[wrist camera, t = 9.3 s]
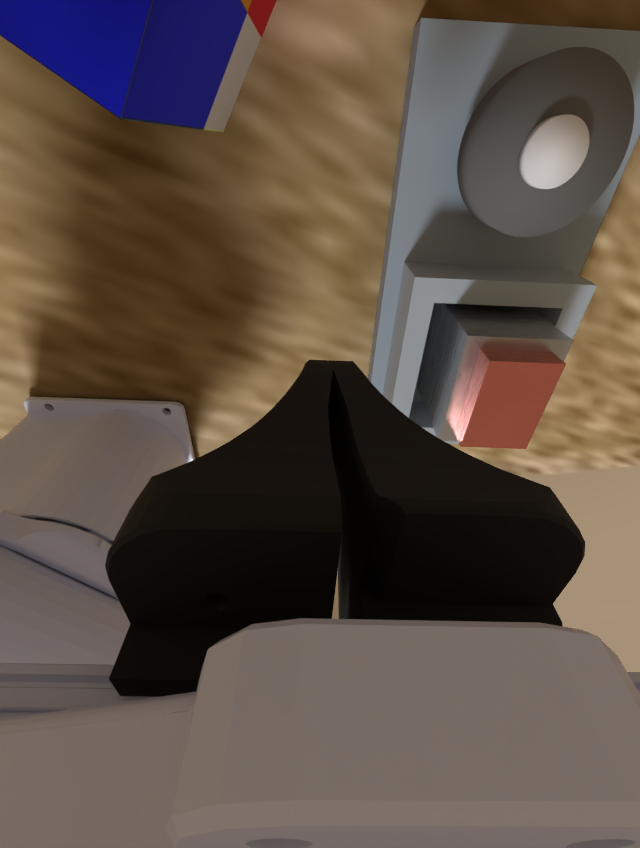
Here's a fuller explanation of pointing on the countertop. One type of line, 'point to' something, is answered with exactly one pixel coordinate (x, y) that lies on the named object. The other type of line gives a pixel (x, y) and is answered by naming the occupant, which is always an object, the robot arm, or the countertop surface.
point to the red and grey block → (489, 373)
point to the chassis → (447, 213)
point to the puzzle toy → (145, 52)
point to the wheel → (546, 141)
